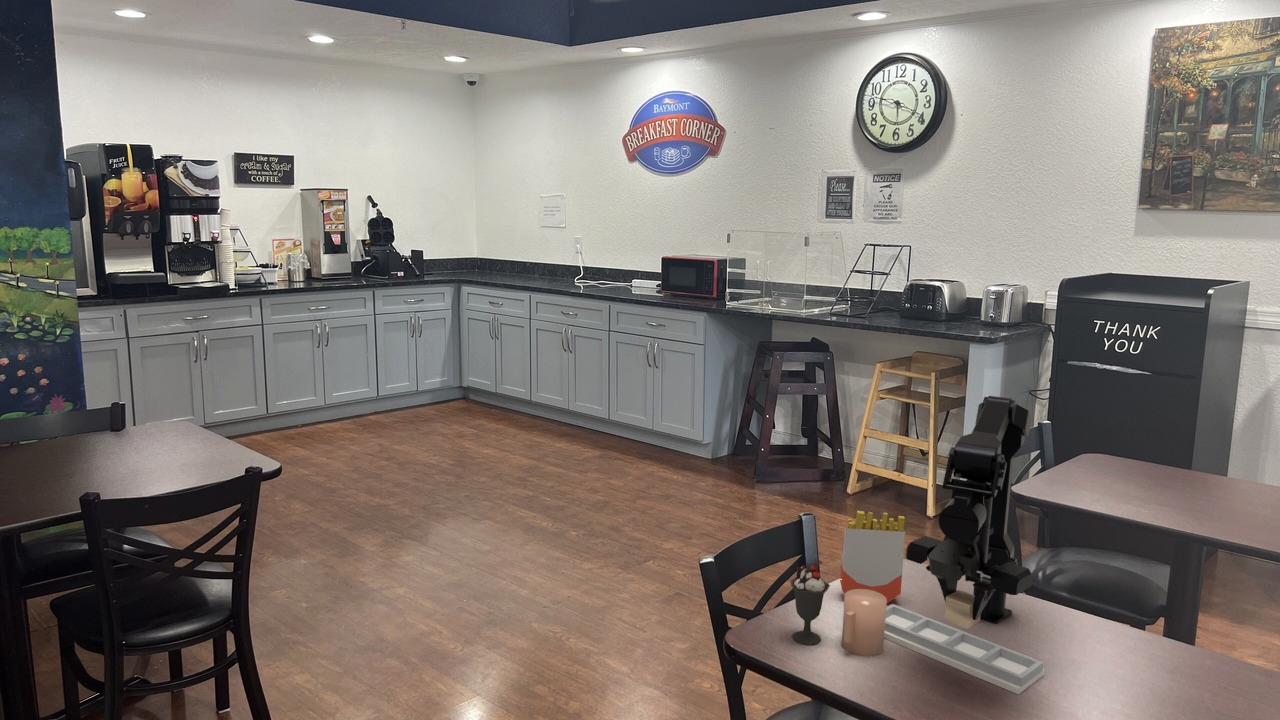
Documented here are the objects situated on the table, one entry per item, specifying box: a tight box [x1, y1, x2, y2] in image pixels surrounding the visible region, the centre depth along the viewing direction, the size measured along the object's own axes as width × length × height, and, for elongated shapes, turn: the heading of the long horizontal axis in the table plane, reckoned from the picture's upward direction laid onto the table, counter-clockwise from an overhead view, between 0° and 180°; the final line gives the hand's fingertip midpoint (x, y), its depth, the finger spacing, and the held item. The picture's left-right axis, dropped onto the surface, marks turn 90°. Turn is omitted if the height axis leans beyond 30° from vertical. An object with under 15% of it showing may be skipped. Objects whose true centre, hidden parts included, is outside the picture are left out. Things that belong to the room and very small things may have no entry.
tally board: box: [884, 603, 1045, 695], centre depth 156 cm, size 9×28×2 cm, turn 42°
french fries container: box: [839, 510, 906, 604], centre depth 174 cm, size 5×11×18 cm, turn 83°
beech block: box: [943, 589, 981, 630], centre depth 146 cm, size 4×4×4 cm
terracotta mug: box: [841, 589, 888, 658], centre depth 156 cm, size 8×7×9 cm
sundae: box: [789, 560, 831, 646], centre depth 159 cm, size 7×7×15 cm
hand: (962, 614), depth 146 cm, fingers closed on beech block, 4 cm apart
